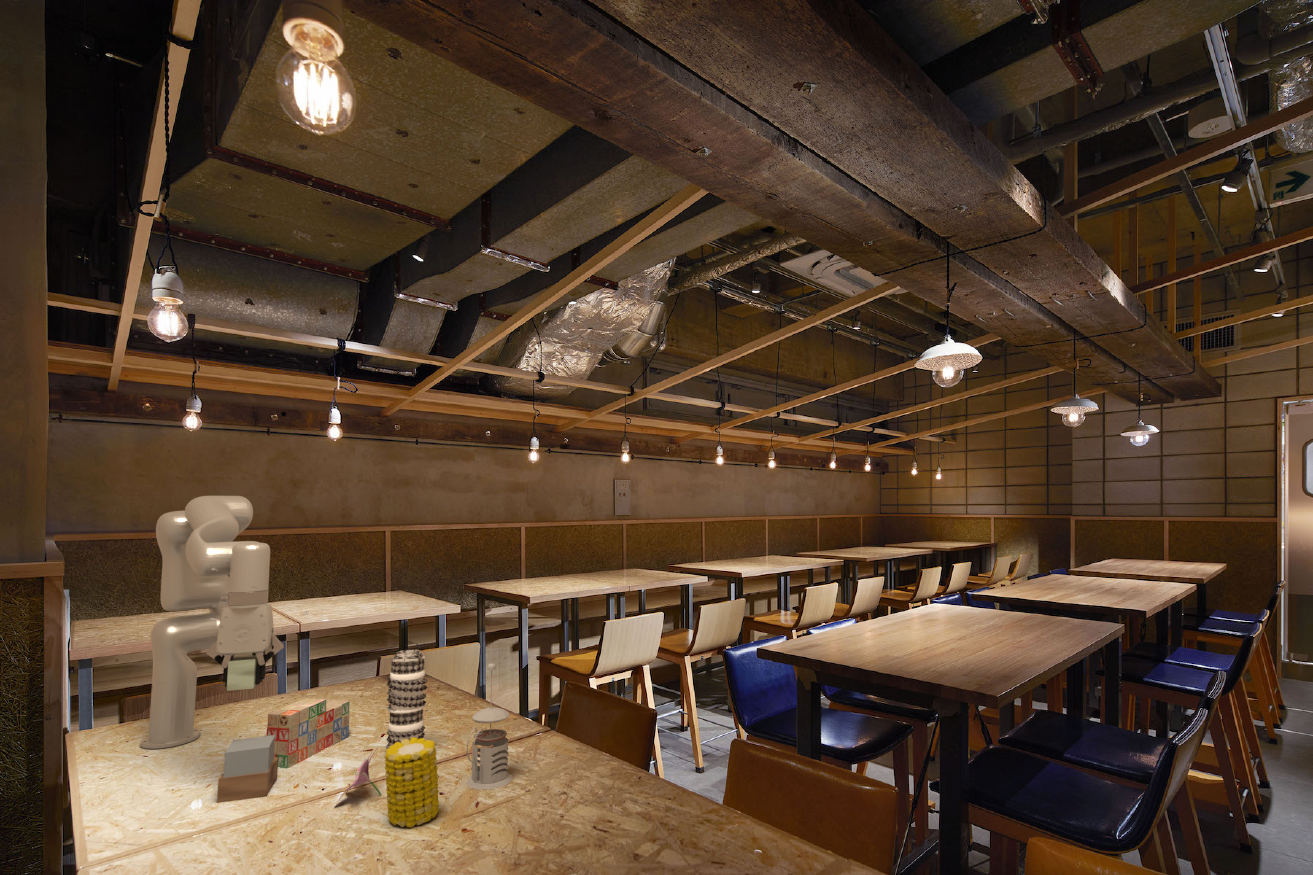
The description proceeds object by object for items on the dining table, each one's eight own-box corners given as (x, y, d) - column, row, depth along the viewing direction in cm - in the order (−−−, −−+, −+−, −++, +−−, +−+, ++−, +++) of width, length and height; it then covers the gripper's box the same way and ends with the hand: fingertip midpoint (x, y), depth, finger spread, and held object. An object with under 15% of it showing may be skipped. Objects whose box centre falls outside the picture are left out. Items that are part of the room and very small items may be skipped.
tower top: (231, 763, 142) (233, 739, 142) (273, 758, 145) (275, 734, 145) (223, 777, 135) (224, 752, 135) (267, 771, 138) (269, 746, 138)
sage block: (234, 684, 144) (235, 656, 145) (259, 682, 145) (261, 654, 146) (226, 690, 139) (228, 661, 140) (253, 688, 141) (254, 659, 141)
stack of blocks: (328, 735, 173) (330, 687, 174) (349, 737, 172) (351, 688, 173) (264, 767, 152) (267, 712, 154) (287, 769, 151) (290, 714, 152)
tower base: (230, 786, 142) (231, 762, 143) (277, 780, 145) (278, 757, 146) (216, 803, 134) (218, 778, 134) (266, 797, 137) (267, 772, 137)
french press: (521, 775, 146) (523, 660, 149) (487, 796, 136) (489, 672, 138) (486, 768, 150) (488, 656, 153) (451, 788, 140) (453, 668, 142)
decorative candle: (375, 762, 154) (379, 654, 157) (404, 749, 163) (407, 646, 165) (405, 768, 151) (409, 657, 153) (433, 754, 159) (436, 649, 162)
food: (447, 820, 128) (403, 846, 120) (410, 793, 135) (365, 815, 126) (458, 747, 128) (414, 767, 119) (420, 723, 134) (375, 740, 125)
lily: (370, 785, 144) (348, 749, 143) (411, 769, 141) (389, 733, 140) (335, 828, 132) (310, 790, 131) (379, 812, 129) (354, 772, 128)
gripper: (197, 603, 138) (192, 692, 136) (287, 599, 143) (283, 684, 141) (209, 599, 145) (205, 683, 143) (295, 595, 150) (291, 676, 148)
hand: (244, 683), depth 142 cm, fingers closed on sage block, 5 cm apart
